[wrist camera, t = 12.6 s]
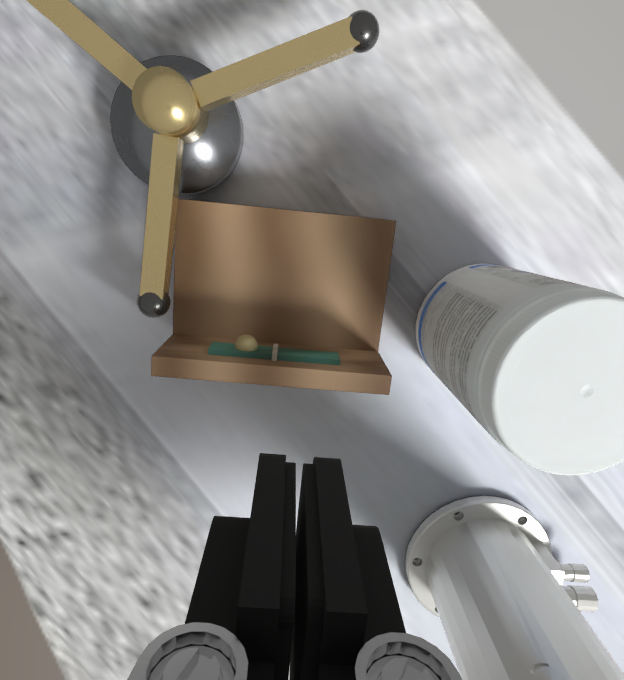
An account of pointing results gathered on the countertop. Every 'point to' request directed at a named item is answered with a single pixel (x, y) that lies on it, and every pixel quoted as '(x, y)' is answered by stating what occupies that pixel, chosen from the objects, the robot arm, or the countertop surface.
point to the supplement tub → (531, 363)
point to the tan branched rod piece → (191, 118)
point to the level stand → (278, 298)
